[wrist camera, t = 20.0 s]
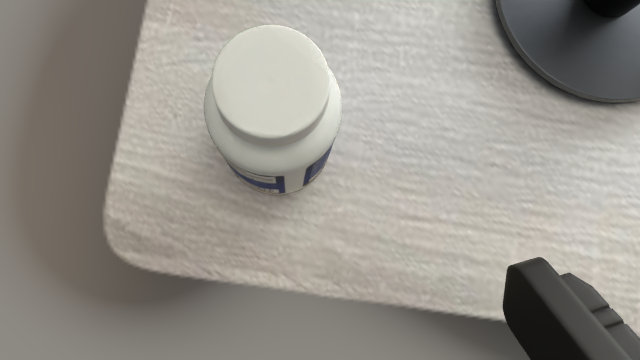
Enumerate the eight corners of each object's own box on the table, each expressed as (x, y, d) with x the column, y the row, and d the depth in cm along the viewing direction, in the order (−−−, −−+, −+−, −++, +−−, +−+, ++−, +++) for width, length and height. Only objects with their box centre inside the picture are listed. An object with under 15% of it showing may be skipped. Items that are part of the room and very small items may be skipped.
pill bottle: (306, 82, 27) (316, -17, 17) (343, 174, 26) (376, 124, 16) (210, 116, 26) (165, 33, 16) (246, 211, 25) (221, 183, 16)
